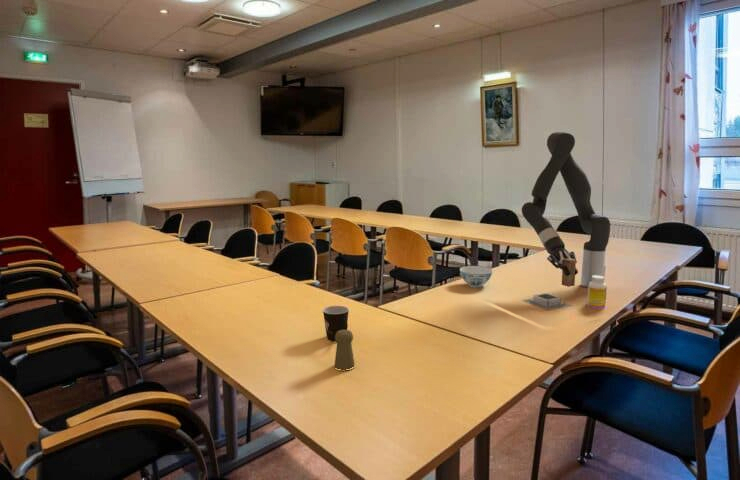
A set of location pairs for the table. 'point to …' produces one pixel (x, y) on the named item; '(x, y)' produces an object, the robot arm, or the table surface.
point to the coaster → (549, 307)
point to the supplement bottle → (597, 292)
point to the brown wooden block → (571, 267)
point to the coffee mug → (335, 320)
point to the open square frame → (547, 300)
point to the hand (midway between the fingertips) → (572, 274)
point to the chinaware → (475, 275)
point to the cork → (344, 350)
